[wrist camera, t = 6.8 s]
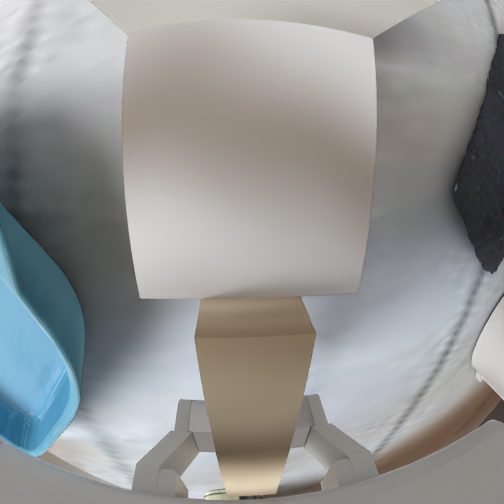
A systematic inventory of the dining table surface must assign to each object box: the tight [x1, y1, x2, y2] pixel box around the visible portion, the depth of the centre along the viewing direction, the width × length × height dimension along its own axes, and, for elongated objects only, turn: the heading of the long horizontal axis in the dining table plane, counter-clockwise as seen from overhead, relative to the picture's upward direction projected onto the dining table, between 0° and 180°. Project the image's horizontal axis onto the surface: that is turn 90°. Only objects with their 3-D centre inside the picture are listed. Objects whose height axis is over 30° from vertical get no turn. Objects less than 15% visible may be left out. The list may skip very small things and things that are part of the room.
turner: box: [122, 19, 377, 496], centre depth 8 cm, size 19×6×4 cm, turn 179°
